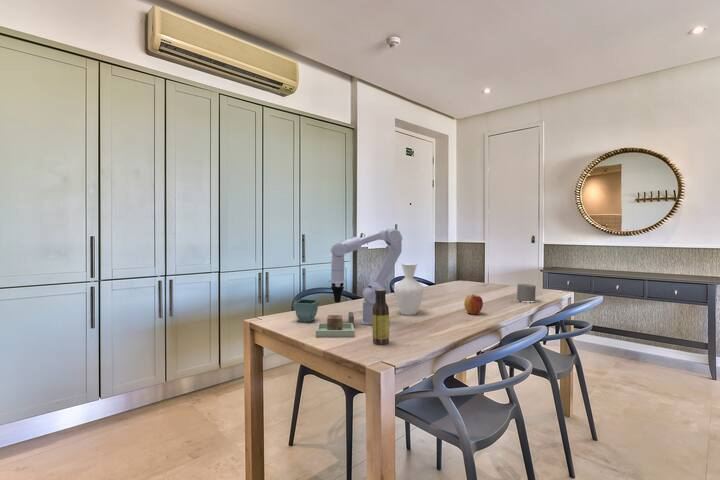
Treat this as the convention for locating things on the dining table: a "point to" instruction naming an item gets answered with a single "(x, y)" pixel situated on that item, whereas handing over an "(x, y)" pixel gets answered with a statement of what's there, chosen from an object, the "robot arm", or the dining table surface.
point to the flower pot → (306, 309)
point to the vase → (408, 291)
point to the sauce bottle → (380, 318)
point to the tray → (345, 332)
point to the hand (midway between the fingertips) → (337, 300)
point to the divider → (351, 318)
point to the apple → (473, 304)
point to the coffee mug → (526, 292)
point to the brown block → (334, 322)
